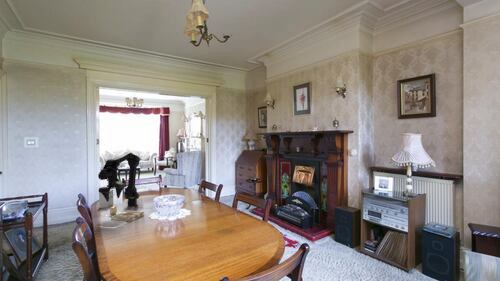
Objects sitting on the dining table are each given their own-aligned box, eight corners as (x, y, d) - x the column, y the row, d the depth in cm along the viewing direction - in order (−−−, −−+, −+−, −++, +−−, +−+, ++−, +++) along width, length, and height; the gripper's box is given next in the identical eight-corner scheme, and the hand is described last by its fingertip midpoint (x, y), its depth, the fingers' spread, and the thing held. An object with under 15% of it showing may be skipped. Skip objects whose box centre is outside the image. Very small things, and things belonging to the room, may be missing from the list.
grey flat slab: (114, 213, 177) (114, 211, 177) (122, 213, 175) (122, 212, 175) (103, 217, 168) (103, 215, 168) (112, 217, 166) (112, 216, 166)
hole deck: (127, 213, 174) (127, 210, 174) (144, 215, 171) (143, 211, 171) (111, 220, 161) (111, 216, 161) (129, 222, 157) (129, 217, 157)
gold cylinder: (113, 213, 174) (113, 206, 174) (118, 213, 173) (117, 206, 173) (108, 214, 170) (108, 207, 170) (113, 215, 169) (113, 208, 169)
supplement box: (108, 207, 190) (108, 191, 190) (98, 208, 190) (98, 191, 190) (113, 205, 197) (113, 189, 197) (104, 205, 197) (104, 189, 197)
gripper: (111, 180, 160) (111, 204, 160) (132, 175, 178) (132, 197, 178) (97, 179, 163) (98, 203, 163) (119, 175, 181) (119, 196, 181)
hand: (113, 199), depth 171 cm, fingers open, 9 cm apart
